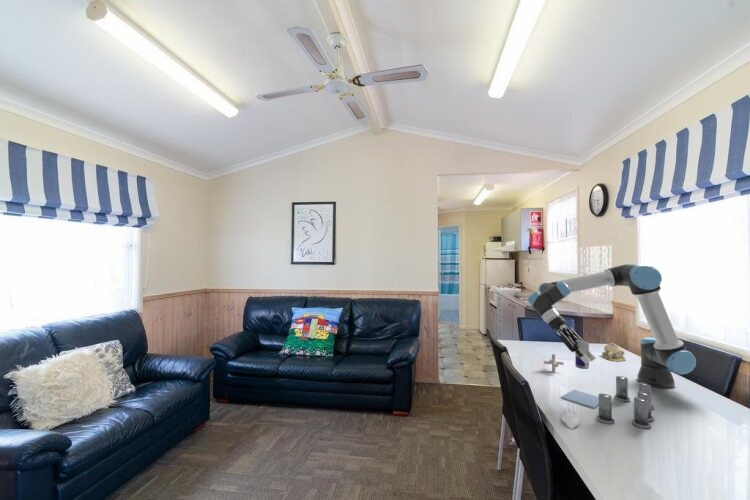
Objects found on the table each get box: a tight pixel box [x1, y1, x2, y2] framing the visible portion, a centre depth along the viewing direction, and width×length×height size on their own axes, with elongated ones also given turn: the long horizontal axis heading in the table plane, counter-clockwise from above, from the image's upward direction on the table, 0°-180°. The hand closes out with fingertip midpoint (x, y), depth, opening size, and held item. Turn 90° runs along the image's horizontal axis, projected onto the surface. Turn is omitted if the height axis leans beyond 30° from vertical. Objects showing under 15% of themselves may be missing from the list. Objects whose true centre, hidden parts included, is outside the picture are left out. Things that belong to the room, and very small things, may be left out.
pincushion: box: [561, 408, 580, 429], centre depth 137 cm, size 12×6×6 cm, turn 154°
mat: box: [560, 389, 599, 409], centre depth 158 cm, size 14×14×1 cm
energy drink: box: [574, 339, 590, 370], centre depth 158 cm, size 5×5×12 cm
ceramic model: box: [601, 342, 626, 363], centre depth 219 cm, size 14×11×10 cm
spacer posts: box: [596, 375, 655, 430], centre depth 143 cm, size 19×35×10 cm, turn 127°
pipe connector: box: [543, 353, 565, 373], centre depth 195 cm, size 10×10×10 cm
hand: (590, 361), depth 155 cm, fingers closed on energy drink, 5 cm apart
